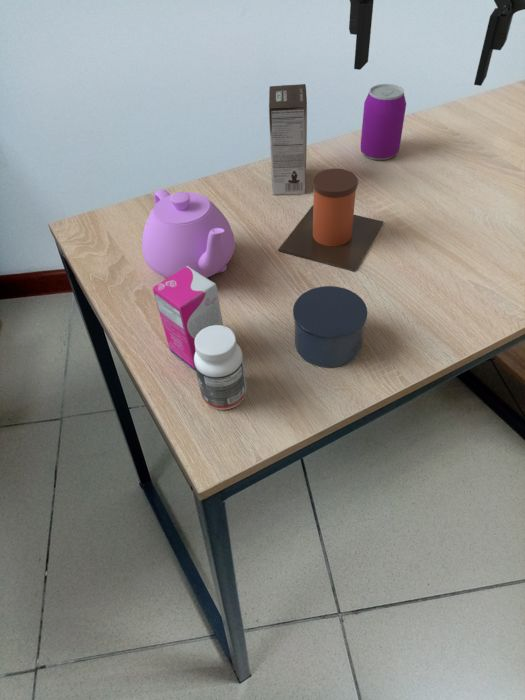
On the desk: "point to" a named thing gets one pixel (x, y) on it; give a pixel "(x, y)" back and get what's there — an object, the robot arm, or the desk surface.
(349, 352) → the tin
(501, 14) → the robot arm
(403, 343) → the desk surface
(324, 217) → the canister
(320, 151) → the desk surface
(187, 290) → the supplement box
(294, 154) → the coffee box
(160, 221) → the teapot
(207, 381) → the pill bottle
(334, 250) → the plate
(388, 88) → the beverage can
